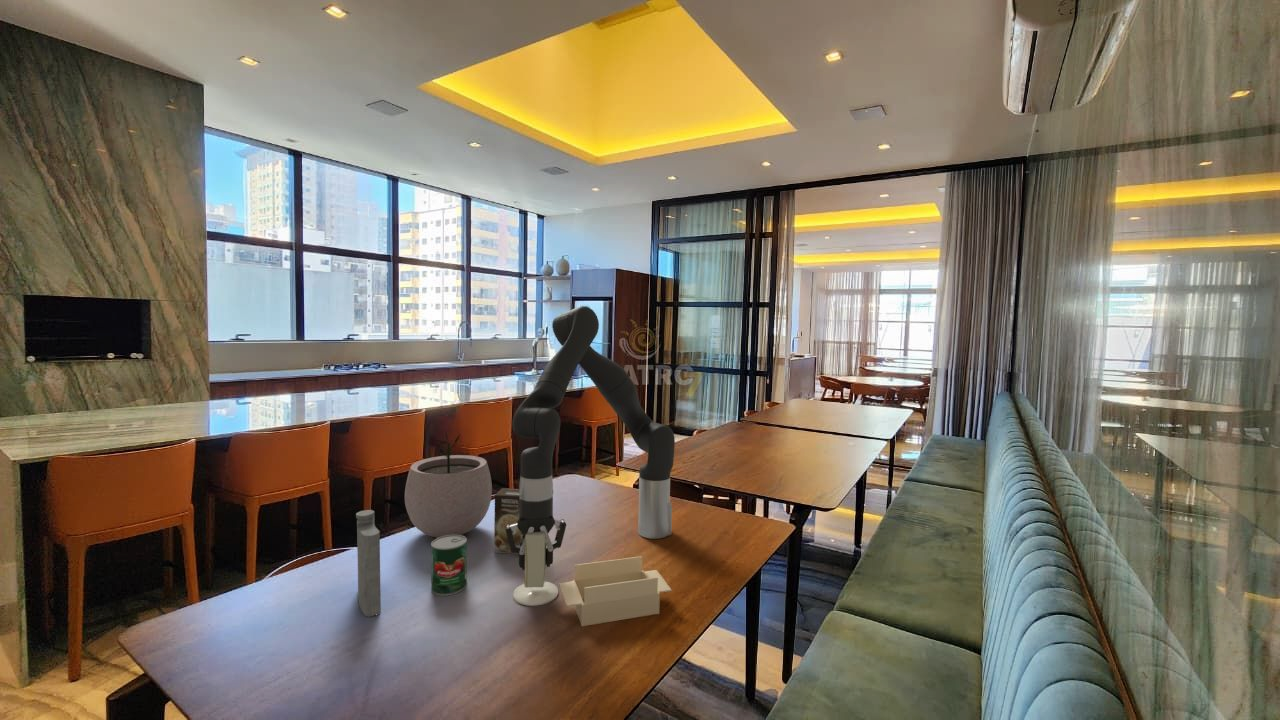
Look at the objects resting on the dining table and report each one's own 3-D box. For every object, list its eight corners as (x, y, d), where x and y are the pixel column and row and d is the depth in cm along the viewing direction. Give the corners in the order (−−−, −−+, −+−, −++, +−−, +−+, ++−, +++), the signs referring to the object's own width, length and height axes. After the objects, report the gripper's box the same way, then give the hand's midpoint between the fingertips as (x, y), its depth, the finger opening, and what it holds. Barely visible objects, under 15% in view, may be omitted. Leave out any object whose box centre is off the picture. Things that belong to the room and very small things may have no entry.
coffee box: (492, 553, 140) (492, 494, 139) (501, 543, 147) (501, 487, 145) (525, 555, 139) (526, 496, 138) (533, 545, 146) (533, 489, 145)
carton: (655, 587, 124) (655, 554, 123) (672, 611, 113) (673, 575, 113) (558, 601, 116) (558, 566, 116) (567, 628, 106) (567, 590, 105)
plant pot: (385, 541, 146) (384, 436, 144) (446, 513, 168) (446, 422, 166) (453, 557, 137) (453, 445, 135) (508, 525, 160) (508, 429, 158)
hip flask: (381, 614, 110) (380, 522, 109) (359, 619, 108) (358, 525, 106) (374, 582, 123) (373, 499, 122) (355, 586, 121) (354, 502, 120)
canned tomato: (441, 599, 116) (440, 551, 116) (425, 587, 122) (424, 541, 121) (473, 586, 122) (473, 541, 121) (456, 575, 127) (456, 531, 127)
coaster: (554, 581, 125) (554, 578, 125) (561, 602, 116) (561, 599, 116) (511, 586, 122) (511, 584, 122) (515, 608, 113) (515, 606, 113)
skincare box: (527, 575, 122) (528, 524, 121) (546, 574, 122) (547, 524, 122) (524, 588, 116) (524, 535, 115) (544, 588, 116) (544, 535, 115)
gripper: (564, 487, 124) (564, 556, 125) (502, 491, 119) (502, 563, 120) (570, 497, 116) (569, 570, 118) (504, 502, 112) (504, 579, 113)
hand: (535, 566), depth 119 cm, fingers closed on skincare box, 5 cm apart
